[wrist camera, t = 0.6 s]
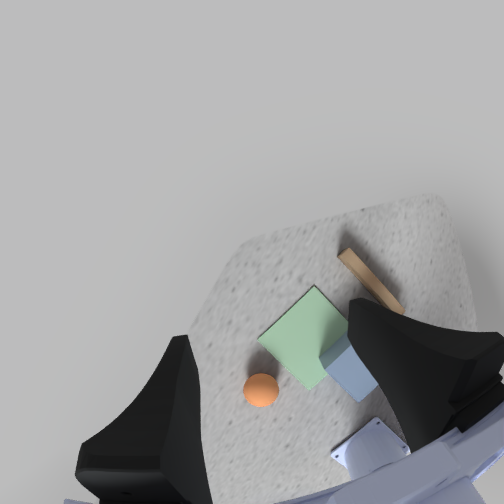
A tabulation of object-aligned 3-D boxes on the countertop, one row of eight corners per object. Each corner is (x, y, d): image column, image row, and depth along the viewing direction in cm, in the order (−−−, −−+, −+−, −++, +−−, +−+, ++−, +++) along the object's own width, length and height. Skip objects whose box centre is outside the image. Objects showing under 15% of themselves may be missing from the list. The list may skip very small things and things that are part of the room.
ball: (285, 384, 33) (286, 397, 29) (261, 404, 33) (259, 418, 29) (262, 362, 33) (260, 372, 29) (238, 382, 33) (233, 395, 29)
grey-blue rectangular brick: (394, 342, 32) (410, 351, 27) (348, 387, 32) (358, 403, 27) (365, 311, 33) (379, 316, 28) (318, 357, 33) (324, 369, 28)
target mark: (364, 339, 32) (364, 339, 32) (308, 390, 32) (308, 390, 32) (314, 286, 33) (314, 286, 33) (257, 339, 33) (257, 339, 33)
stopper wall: (397, 308, 32) (405, 310, 30) (391, 315, 32) (398, 318, 30) (344, 249, 33) (349, 247, 31) (337, 256, 33) (341, 255, 31)
